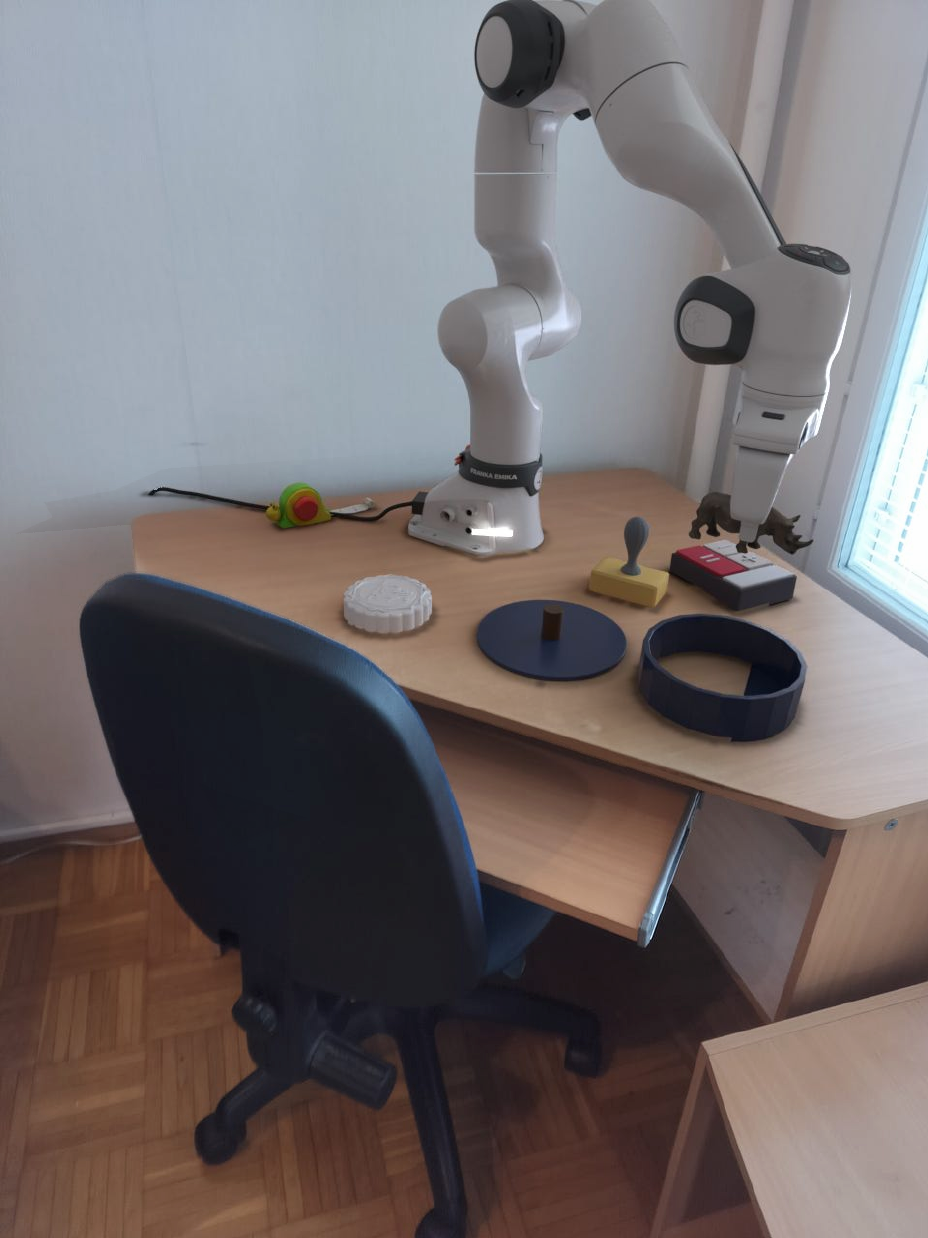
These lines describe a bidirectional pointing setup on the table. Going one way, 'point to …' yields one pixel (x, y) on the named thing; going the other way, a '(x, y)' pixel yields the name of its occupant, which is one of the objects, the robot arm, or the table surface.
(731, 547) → the calculator
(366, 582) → the mooncake
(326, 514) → the toy measuring tape
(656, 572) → the rubber stamp
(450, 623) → the table surface
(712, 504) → the rhino figurine
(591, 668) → the pan lid
